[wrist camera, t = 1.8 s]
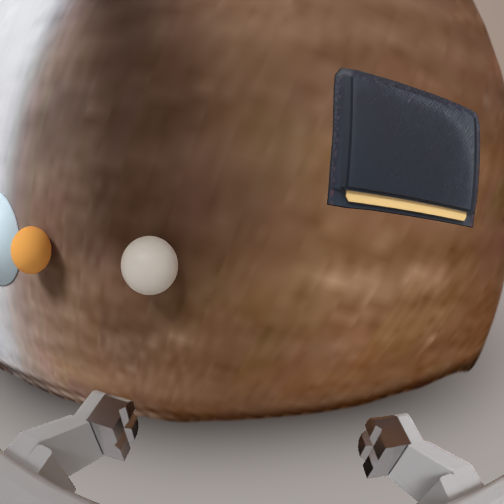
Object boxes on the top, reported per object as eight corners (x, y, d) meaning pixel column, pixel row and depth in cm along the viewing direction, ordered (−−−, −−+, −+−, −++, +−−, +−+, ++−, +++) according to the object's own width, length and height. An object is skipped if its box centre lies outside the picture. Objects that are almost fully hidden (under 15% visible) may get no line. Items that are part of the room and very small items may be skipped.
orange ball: (25, 242, 28) (-3, 252, 23) (43, 213, 28) (13, 220, 22) (47, 275, 29) (20, 289, 24) (66, 247, 28) (37, 259, 23)
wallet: (485, 113, 22) (477, 235, 26) (476, 115, 24) (468, 232, 28) (337, 57, 22) (324, 205, 26) (332, 63, 24) (319, 204, 28)
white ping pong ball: (125, 254, 28) (100, 269, 23) (159, 220, 28) (137, 228, 22) (159, 293, 29) (140, 315, 24) (195, 261, 28) (181, 279, 23)
